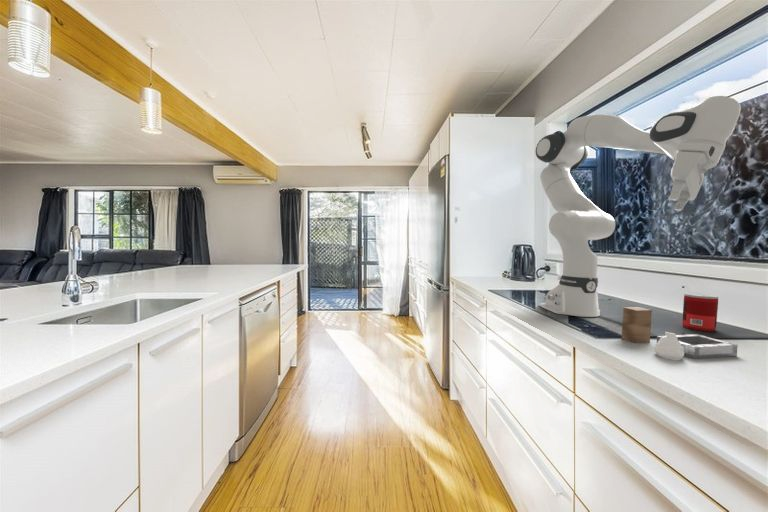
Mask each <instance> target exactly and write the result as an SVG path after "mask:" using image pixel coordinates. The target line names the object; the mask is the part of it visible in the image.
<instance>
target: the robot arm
mask: <svg viewBox="0 0 768 512" xmlns="http://www.w3.org/2000/svg"><path fill="white" fill-rule="evenodd" d="M741 109H742V107H741V104H740V103H739V102H738V100H736V99H734V98H732V97H728V96H725V95H716V96H711V97H708V98H705V100H703V101H702V102H700V103H699V104H697V105H695V106H692V107H690V108H687V109H684V110H681V111H673V112H670V113H666V114H664V115H663V116H661V117H659V119H657V120H656V121H655V122H654V124H653V125H652V127H651V128H650V130H649V131H645V130H642V129H641V128H638V127H636V126H635V125H633V124H631V123H630V122H628V121H627V120H625V119H624V118H623V117H621V116H617V115H615V114H610V113H609V114H608V113H606V114H605V113H599V114H597V113H596V114H589V115H583V116H580V117H577V118H574V119H573V120H572V121H570V123H569V125H568V127H567V129H566V130H565V131H563V132H562V131H561V130H558V131H557V130H556V131H555V132H553V133H551V134H548V135H545V136H543V137H542V138H541V139H540V140H539V141H538V143H537V144H536V147H535V155H536V158H537V159H538V160H539V161H541V162H543V163H548V165H547V166H546V167H544V168H543V169H542V170H541V172H540V176H539V177H540V182H541V185H542V187H543V188H542V189H543V191H544V193H545V194H546V196H547V198H548V200H549V201H550V203H551V206H552V207H553V209H554V210H555V211H556V213H555V212H554V214H553V215H552V216H551V218H550V219H549V222H548V229H549V232H550V234H551V235H552V236H553V237H554V238H555V239H556V240H557V242H558V243H559V247H560V249H561V251H562V252H561V253H562V260H563V261H562V265H563V266H562V267H563V268H562V275H560V277H558V280H559V282H558V285H556V286H555V287H553V288H552V289H550V290H549V291H548V292H547V293H546V295H545V296H546V297H545V302H541V303H538V306H539V307H540V308H543V309H545V310H547V311H549V312H552V313H554V314H557V315H565V316H566V315H567V316H575V317H585V318H594V317H595V318H596V317H600V316H601V315H600V313H601V309H600V308H599V298H598V297H599V296H598V295H599V294H598V291H597V288H598V286H599V285H598V284H599V280H598V279H599V278H598V276H597V273H598V256H597V254H596V253H595V252H593V251H592V250H591V247H590V245H589V241H598V240H602V239H606V238H608V237H610V236H611V235H613V233H614V231H615V229H616V220H615V219H614V217H613V216H612V215H611V214H610V213H606V212H605V211H603V210H602V209H601V208H599V206H597V205H595V204H594V203H593V202H592V201H591V200H590V199H589V198H587V196H586V195H585V194H584V193H583V192H582V190H581V189H580V186H579V185H578V184H577V183H576V180H574V178H573V177H572V174H571V172H574V171H576V170H577V169H578V168H579V167H580V166H582V165H583V164H584V163H585V161H586V160H587V159H588V157H589V154H590V147H593V148H594V147H596V148H609V149H610V148H611V149H618V150H627V151H632V152H633V151H635V152H642V153H647V154H654V155H660V156H661V155H662V156H666V157H669V158H670V159H672V160H673V161H674V162H673V165H672V167H671V172H670V177H671V180H672V182H673V183H672V187H671V191H670V194H669V196H668V198H669V201H675V204H674V206H673V209H674V211H677V212H681V211H683V209H684V207H685V206H686V205H687V203H688V202H689V201H694V200H695V199H696V198H697V197H698V194H699V192H700V189H701V187H702V186H703V182H704V179H705V173H707V172H708V170H711V169H714V168H715V167H717V166H718V164H719V161H720V159H721V157H722V155H723V153H724V151H725V148H726V142H727V140H728V139H729V137H731V135H732V134H733V132H734V130H735V127H736V126H737V123H738V120H739V117H740V114H741Z"/></svg>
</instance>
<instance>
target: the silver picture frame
mask: <svg viewBox="0 0 768 512" xmlns="http://www.w3.org/2000/svg"><path fill="white" fill-rule="evenodd" d="M676 336H677V339H678V341H679V342H680V343H681V346H682V347H683V348H684V356H683V357H688V358H690V359H693V360H696V359H709V358H710V359H713V358H727V357H729V358H730V357H737V356H738V349H739V348H738V347H739V345H738V344H735V343H732V342H727V341H724V340H720V339H718V338H714V337H713V338H712V337H709V336H705V335H702V334H697V333H696V334H695V333H694V334H692V333H691V334H676ZM661 337H666V335H657V336H656V343H657V342H658V341H659V340H660V338H661Z"/></svg>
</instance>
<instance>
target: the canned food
mask: <svg viewBox="0 0 768 512" xmlns="http://www.w3.org/2000/svg"><path fill="white" fill-rule="evenodd" d="M682 305H683V306H682V307H683V310H682V321H681V323H682V324H681V325H682V326H683V327H684V328H686V329H690V330H693V329H694V331H700V330H702V331H701V332H715V331H716V329H717V320H718V310H719V309H718V308H719V296H718V295H715V294H710V293H702V292H701V293H700V292H699V293H698V292H685V293H684V295H683V304H682Z"/></svg>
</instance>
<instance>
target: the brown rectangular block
mask: <svg viewBox="0 0 768 512" xmlns="http://www.w3.org/2000/svg"><path fill="white" fill-rule="evenodd" d="M622 310H623V311H622V326H621V327H622V328H621V339H623V340H625V341H629V342H631V343H634V344H637V343H650V342H651V329H652V312H653V310H652V309H649V308H645V307H641V306H640V307H639V306H626V307H625V306H623V309H622Z"/></svg>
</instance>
